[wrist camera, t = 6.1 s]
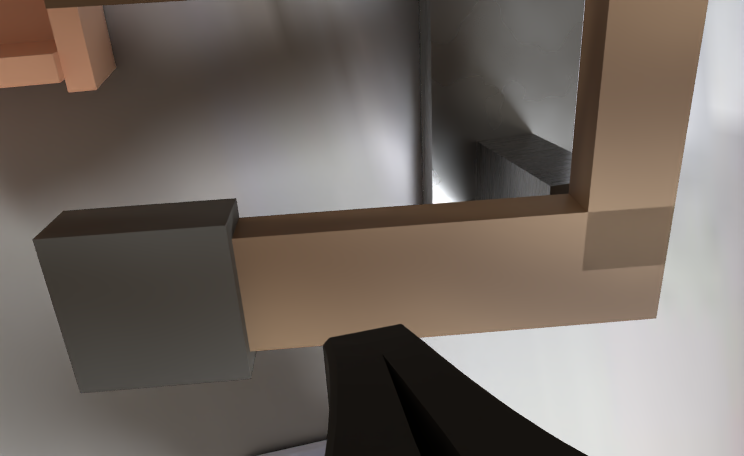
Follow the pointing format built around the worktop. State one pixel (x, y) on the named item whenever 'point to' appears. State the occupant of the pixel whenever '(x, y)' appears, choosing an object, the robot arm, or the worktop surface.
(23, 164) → the worktop surface
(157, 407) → the worktop surface
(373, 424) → the robot arm
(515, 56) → the stand
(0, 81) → the open box
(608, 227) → the wooden tray
